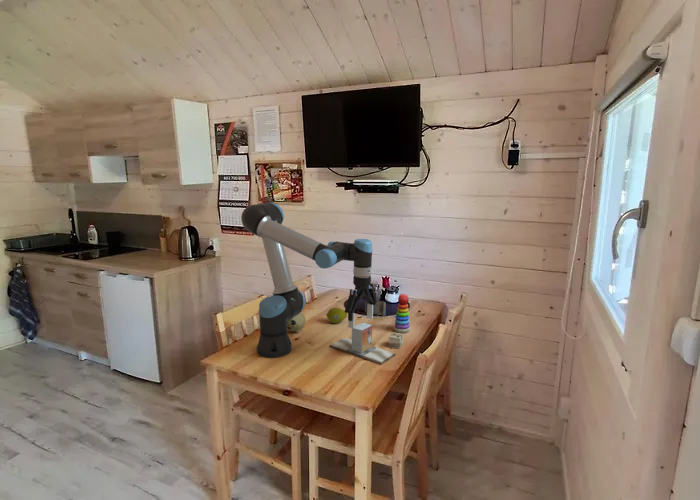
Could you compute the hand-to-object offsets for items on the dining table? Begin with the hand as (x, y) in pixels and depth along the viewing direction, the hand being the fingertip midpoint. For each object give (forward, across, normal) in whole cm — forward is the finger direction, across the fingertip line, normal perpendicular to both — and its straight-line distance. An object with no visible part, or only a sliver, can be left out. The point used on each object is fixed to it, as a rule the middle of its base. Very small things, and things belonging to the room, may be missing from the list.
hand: (360, 322), depth 180 cm
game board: (+13, 0, -1) cm, 13 cm away
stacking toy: (+13, +31, -3) cm, 34 cm away
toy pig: (+14, -3, +38) cm, 41 cm away
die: (+13, +14, -10) cm, 22 cm away
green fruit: (+14, +19, +29) cm, 38 cm away
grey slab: (+14, +42, +21) cm, 49 cm away
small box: (+12, 0, -1) cm, 12 cm away
